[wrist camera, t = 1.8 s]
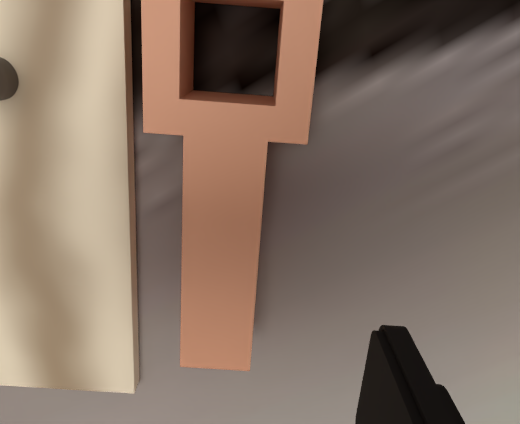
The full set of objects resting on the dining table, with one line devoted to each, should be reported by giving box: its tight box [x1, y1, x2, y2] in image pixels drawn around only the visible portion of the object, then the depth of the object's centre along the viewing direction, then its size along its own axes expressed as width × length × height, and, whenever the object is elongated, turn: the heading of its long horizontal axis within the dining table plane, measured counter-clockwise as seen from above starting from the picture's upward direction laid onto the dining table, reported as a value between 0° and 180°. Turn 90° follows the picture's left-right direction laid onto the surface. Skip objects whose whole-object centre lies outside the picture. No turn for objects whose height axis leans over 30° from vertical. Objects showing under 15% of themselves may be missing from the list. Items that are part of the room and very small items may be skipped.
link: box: [141, 0, 323, 371], centre depth 22 cm, size 19×7×4 cm, turn 176°
